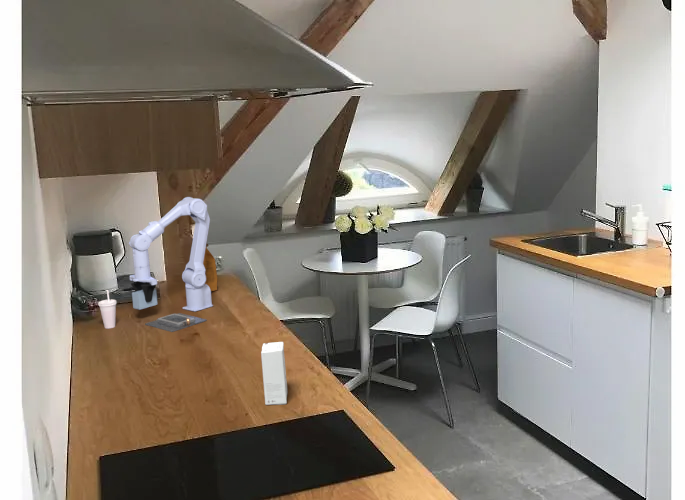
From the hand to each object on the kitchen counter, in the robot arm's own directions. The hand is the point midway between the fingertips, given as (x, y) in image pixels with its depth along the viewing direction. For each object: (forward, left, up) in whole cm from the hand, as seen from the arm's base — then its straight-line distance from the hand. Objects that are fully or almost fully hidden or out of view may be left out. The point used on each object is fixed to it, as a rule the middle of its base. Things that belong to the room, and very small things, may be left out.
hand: (145, 300), depth 264 cm
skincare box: (+26, +94, -7) cm, 98 cm away
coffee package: (-41, -14, -7) cm, 44 cm away
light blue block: (0, 0, -2) cm, 2 cm away
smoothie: (+14, -3, -7) cm, 16 cm away
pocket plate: (-3, +14, -7) cm, 16 cm away
